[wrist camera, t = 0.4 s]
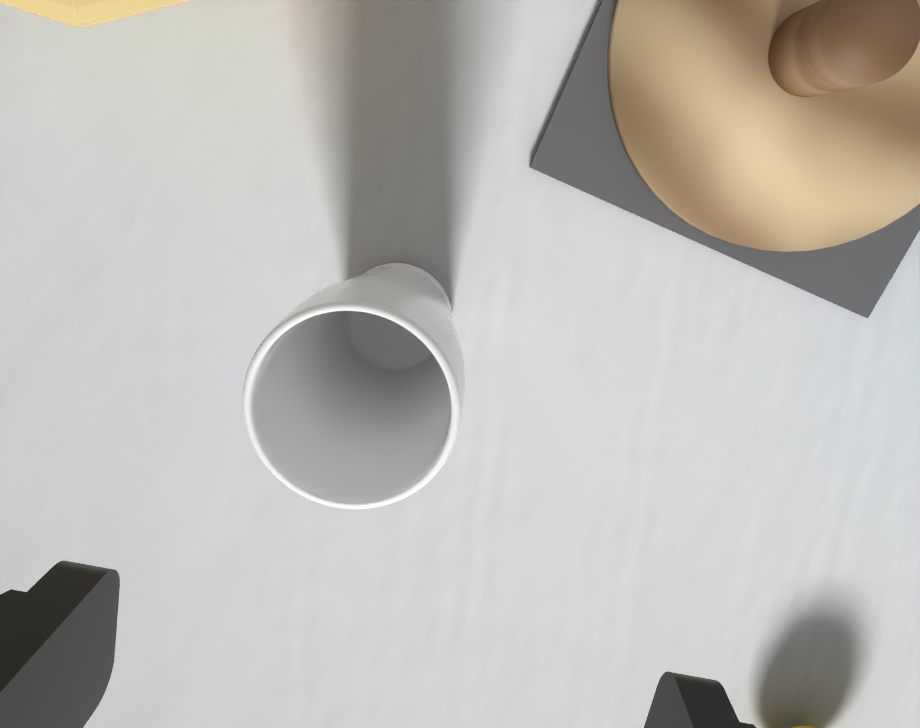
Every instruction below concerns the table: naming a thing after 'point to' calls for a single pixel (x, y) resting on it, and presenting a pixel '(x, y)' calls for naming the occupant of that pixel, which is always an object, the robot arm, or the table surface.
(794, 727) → the lemon
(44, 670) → the robot arm
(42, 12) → the potted cactus
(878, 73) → the lid
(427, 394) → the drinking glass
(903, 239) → the mat
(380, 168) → the table surface
